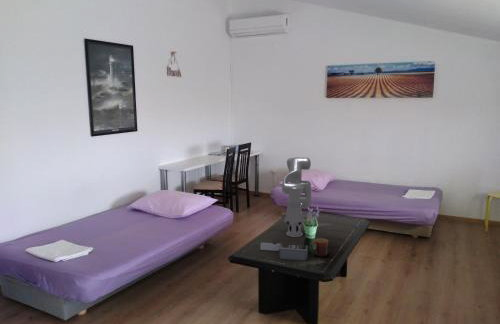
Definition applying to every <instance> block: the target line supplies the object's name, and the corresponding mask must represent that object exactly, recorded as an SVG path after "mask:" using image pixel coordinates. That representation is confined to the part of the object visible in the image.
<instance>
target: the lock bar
mask: <svg viewBox="0 0 500 324" xmlns="http://www.w3.org/2000/svg"><path fill="white" fill-rule="evenodd" d="M280 244H281V243H277V241H273V243H272V242H260V249H261V250H273V251H272V252H274V251H279V247H280Z"/></svg>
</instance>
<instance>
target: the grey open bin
mask: <svg viewBox="0 0 500 324" xmlns="http://www.w3.org/2000/svg"><path fill="white" fill-rule="evenodd" d="M279 244H280V247H279V252H278V259H279V260H291V261H292V260H293V261H308V260H307V259H308V245H305V248H298V249H293V248H289V247H283V243H279Z"/></svg>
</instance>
